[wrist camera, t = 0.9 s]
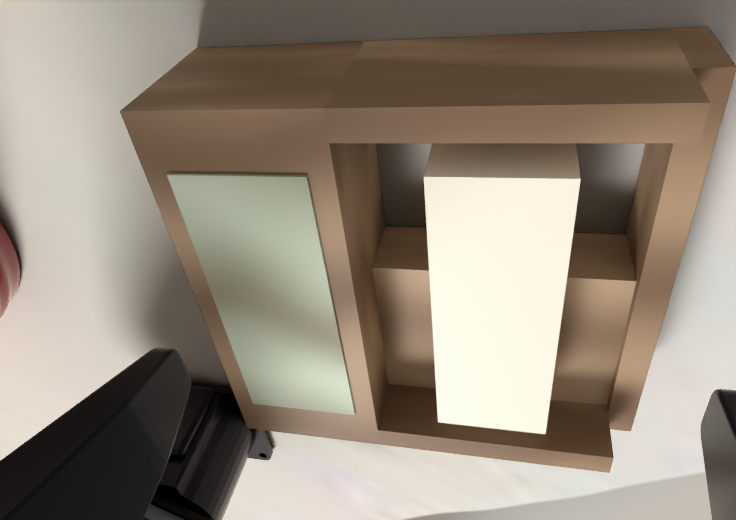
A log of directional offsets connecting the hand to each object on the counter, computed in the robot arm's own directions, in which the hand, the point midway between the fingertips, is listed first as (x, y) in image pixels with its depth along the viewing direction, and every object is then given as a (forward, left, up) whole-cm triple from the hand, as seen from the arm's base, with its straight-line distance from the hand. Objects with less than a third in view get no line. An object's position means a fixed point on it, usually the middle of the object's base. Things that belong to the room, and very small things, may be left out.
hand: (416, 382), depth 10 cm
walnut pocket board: (-6, +1, -12) cm, 14 cm away
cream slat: (-6, -1, -10) cm, 11 cm away
